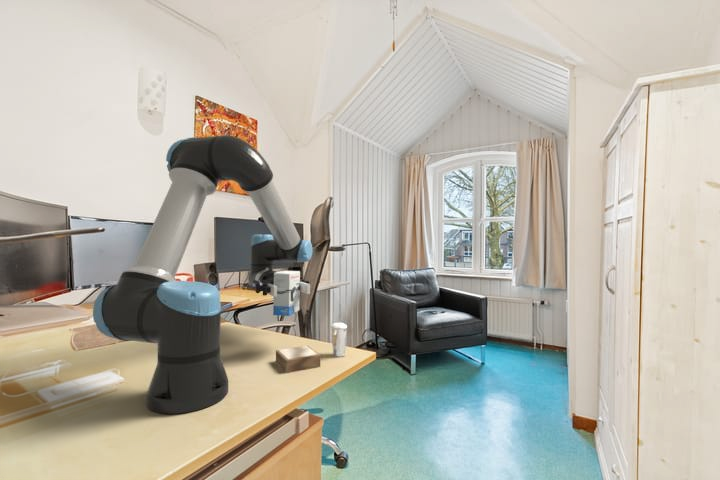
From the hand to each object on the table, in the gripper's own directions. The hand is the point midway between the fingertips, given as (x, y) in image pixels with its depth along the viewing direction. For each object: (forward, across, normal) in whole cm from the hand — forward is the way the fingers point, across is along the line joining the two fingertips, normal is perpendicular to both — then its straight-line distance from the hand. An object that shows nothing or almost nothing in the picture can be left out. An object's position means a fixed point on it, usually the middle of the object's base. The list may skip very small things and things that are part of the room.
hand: (292, 290), depth 95 cm
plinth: (+5, 0, +19) cm, 19 cm away
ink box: (-5, 0, +7) cm, 9 cm away
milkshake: (+4, +13, +19) cm, 23 cm away
